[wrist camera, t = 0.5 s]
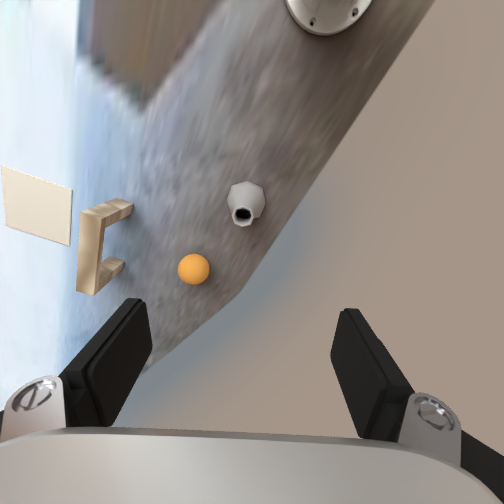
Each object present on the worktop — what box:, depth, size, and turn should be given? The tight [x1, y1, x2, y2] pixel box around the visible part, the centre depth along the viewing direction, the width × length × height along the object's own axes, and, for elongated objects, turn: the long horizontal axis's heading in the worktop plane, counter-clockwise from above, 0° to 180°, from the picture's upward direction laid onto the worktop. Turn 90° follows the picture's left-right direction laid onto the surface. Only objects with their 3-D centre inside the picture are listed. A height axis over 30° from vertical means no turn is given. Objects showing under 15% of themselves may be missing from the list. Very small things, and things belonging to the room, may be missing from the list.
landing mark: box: [1, 165, 72, 246], centre depth 44 cm, size 12×12×1 cm
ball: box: [178, 254, 210, 285], centre depth 46 cm, size 6×6×6 cm
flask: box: [227, 181, 266, 227], centre depth 38 cm, size 7×7×10 cm
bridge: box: [76, 198, 133, 296], centre depth 42 cm, size 3×15×10 cm, turn 159°
